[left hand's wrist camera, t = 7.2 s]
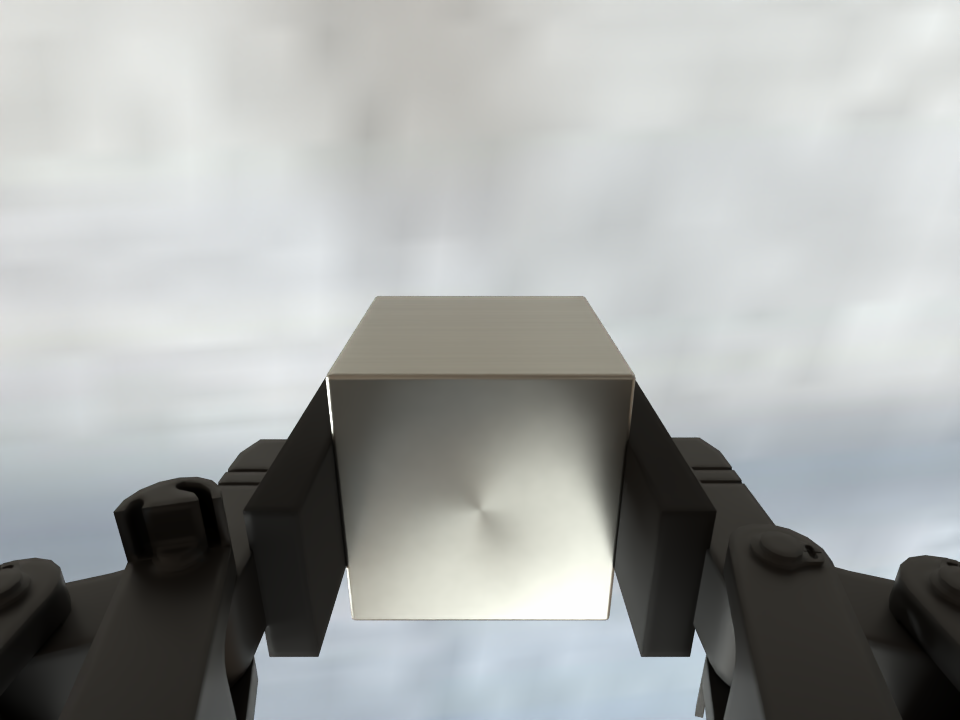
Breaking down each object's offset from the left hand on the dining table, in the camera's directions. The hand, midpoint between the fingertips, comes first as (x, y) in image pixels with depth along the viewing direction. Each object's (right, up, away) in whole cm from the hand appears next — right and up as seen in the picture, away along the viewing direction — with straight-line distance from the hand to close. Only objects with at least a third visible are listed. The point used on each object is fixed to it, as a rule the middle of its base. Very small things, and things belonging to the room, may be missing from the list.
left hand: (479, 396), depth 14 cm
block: (0, 0, 0) cm, 0 cm away
